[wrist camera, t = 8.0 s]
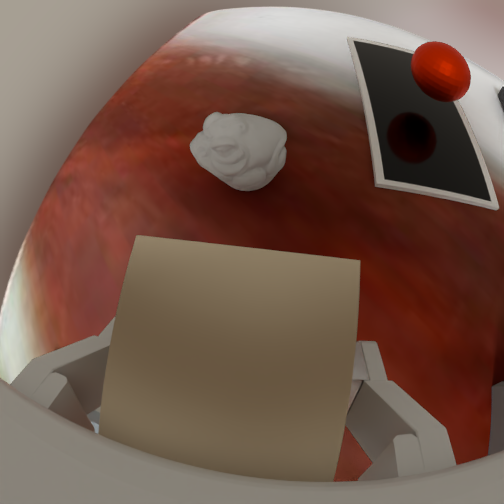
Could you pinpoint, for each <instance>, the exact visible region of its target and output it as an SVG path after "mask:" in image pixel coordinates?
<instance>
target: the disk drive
mask: <svg viewBox="0 0 504 504" xmlns="http://www.w3.org/2000/svg"><path fill="white" fill-rule="evenodd" d="M498 96H499V99H500V102H501V105H502V108H503V110H504V87H502V88H501V90H500V92H499V94H498Z"/></svg>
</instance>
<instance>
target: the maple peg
mask: <svg viewBox="0 0 504 504" xmlns="http://www.w3.org/2000/svg"><path fill="white" fill-rule="evenodd" d="M359 289H360V260H352V259H344V258H335V257H326V256H318V255H309V254H301V253H292V252H283V251H274V250H266V249H257V248H248V247H239V246H230V245H222V244H213V243H204V242H195V241H186V240H177V239H168V238H159V237H150V236H140V235H137V236H136V239H135V242H134V246H133V249H132V253H131V256H130V260H129V263H128V267H127V271H126V275H125V278H124V282H123V286H122V290H121V295H120V299H119V303H118V308H117V312H116V317H115V321H114V326H113V331H112V336H111V342H110V347H109V353H108V359H107V365H106V371H105V378H104V385H103V393H102V401H101V410H100V420H99V432H98V434H99V435H102V436H104V437H106V438H109V439H111V440H114V441H116V442H119V443H121V444H124V445H127V446H129V447H132V448H135V449H138V450H140V451H143V452H146V453H149V454H152V455H156V456H159V457H162V458H165V459H169V460H172V461H176V462H180V463H184V464H187V465H191V466H196V467H200V468H204V469H209V470H214V471H219V472H224V473H230V474H236V475H242V476H249V477H257V478H265V479H275V480H287V481H306V482H333V480H334V476H335V472H336V467H337V463H338V459H339V454H340V449H341V444H342V439H343V434H344V428H345V423H346V417H347V411H348V405H349V398H350V391H351V384H352V376H353V367H354V358H355V348H356V337H357V325H358V309H359Z"/></svg>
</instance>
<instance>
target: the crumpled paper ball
mask: <svg viewBox="0 0 504 504" xmlns="http://www.w3.org/2000/svg"><path fill="white" fill-rule="evenodd" d="M286 140H287V134H286V131H285V130H284V129H283V128H282V127H281V126H280V125H279V124H278V123H276V122H274V121H272V120H269V119H266V118H263V117H260V116H257V115H249V114H244V113H234V114H230V115H229V114H221V113H218V112H215V113H213V114H211V115H209V116H208V117H207V118H206V119H205V121H204V125H203V131H202V132H200V133H198V134H197V135H196V137H195V139H193V140H192V142H191V143H190V150H191V152H192V154H193V156H194V157H195V158H196V160H197V163H198V164H199V165H200V166H201V167H203V168H205V169H206V170H208V171H209V172H211V173H212V174H213V175H215V176H216V177H218V178H219V179H220V180H222V181H223V182H225V183H226V184H227V185H229V186H231V187H232V188H235V189H236V190H241V191H252V190H257V189H260V188H262V187H264V186H265V185H267V184H268V183H269V182H270V181H271V180H272V179H273V178H274V177H275V175H276V174H277V173H278V172H279V171H280V170H281V169H282V168H283V166H284V164H285V160H286V148H285V146H284V144H285V142H286Z"/></svg>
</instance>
